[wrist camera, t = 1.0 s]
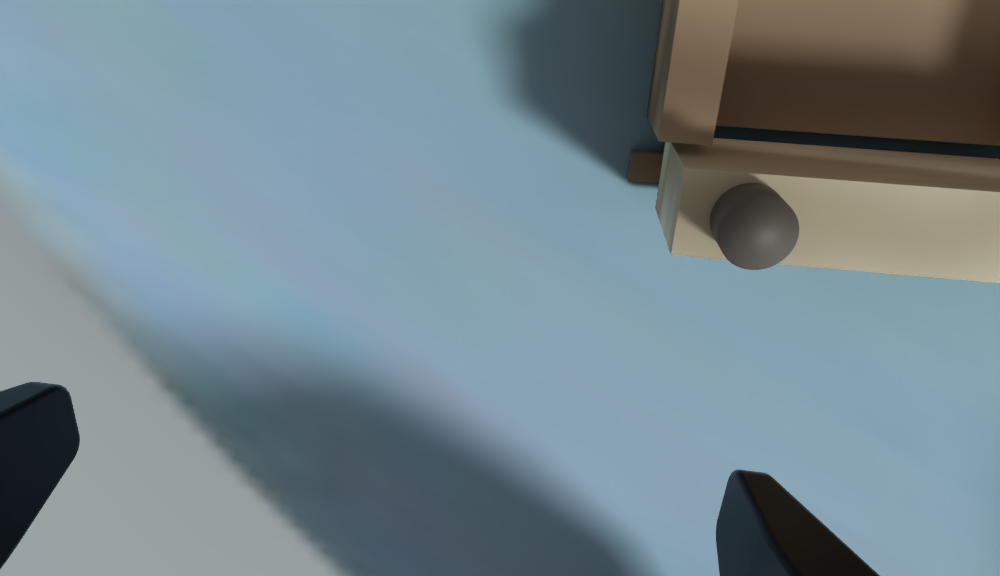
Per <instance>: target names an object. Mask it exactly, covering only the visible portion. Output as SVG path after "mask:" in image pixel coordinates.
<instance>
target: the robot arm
mask: <svg viewBox="0 0 1000 576" xmlns="http://www.w3.org/2000/svg"><path fill="white" fill-rule="evenodd" d="M79 442H80V437H79V432H78V427H77V423H76V419H75V414H74V409H73V405H72V401H71V396H70V394H69V392H68V391H67V390H66V388H65V387H63V386H61V385H55V384H47V383H40V382H29V383H25V384H22V385H19V386H16V387H13V388H10V389H7V390H4V391H1V392H0V569H1V568H2V566H3V565H4V564H5V562H6V561H7V559H8V558H9V557H10V555H11V554H12V552H13V551H14V549H15V548H16V546H17V545H18V543H19V542H20V541H21V539H22V538H23V536H24V534H25V533H26V531H27V529H28V528H29V527H30V525H31V524H32V522H33V521H34V519H35V518H36V516H37V515H38V513H39V511H40V510H41V508H42V507H43V505H44V504H45V502H46V500H47V499H48V498H49V496H50V495H51V493H52V491H53V490H54V488H55V487H56V485H57V484H58V482H59V481H60V479H61V478H62V476H63V475H64V473H65V472H66V470H67V468H68V467H69V465H70V464H71V462H72V461H73V459H74V458H75V456H76V453H77V451H78V448H79ZM716 544H717V553H718V563H719V572H720V576H880V575H878V574H877V573H876V572H875V571H874V570H873V569H872V568H871V567H870V566H869V565H868V564H866V563H865V562H864V561H863V560H862V559H861V558H860V557H859V556H858V555H857V554H856V553H854V552H853V551H852V550H851V549H850V548H849V547H848V546H847V545H846V544H845V543H844V542H842V541H841V540H840V539H839V538H838V537H837V536H836V535H835V534H834V533H833V532H831V531H830V530H829V529H828V528H827V527H826V526H825V525H824V524H823V523H822V522H821V521H819V520H818V519H817V518H816V517H815V516H814V515H813V514H812V513H811V512H810V511H809V510H807V509H806V508H805V507H804V506H803V505H802V504H801V503H800V502H799V501H798V500H797V499H795V498H794V497H793V496H792V495H791V494H790V493H789V492H788V491H787V490H786V489H785V488H783V487H782V486H781V485H780V484H779V483H778V482H777V481H776V480H775V479H774V478H772V477H771V476H770V475H768V474H766V473H762V472H754V471H746V470H735V471H733V472H732V473H731V475H730V477H729V479H728V482H727V486H726V490H725V494H724V497H723V501H722V505H721V509H720V512H719V516H718V520H717V526H716Z"/></svg>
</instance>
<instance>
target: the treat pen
mask: <svg viewBox="0 0 1000 576" xmlns="http://www.w3.org/2000/svg"><path fill="white" fill-rule="evenodd" d="M647 119H648V121H649V123H650V125H651V127H652V129H653V131H654V133H655V135H656V137H657V139H658V141H659V142H672V143H686V144H699V145H712V144H713V138H714V133H715V127H716V126H728V127H742V128H756V129H770V130H785V131H799V132H813V133H827V134H841V135H855V136H869V137H883V138H897V139H911V140H925V141H939V142H953V143H967V144H981V145H995V146H1000V0H663V4H662V11H661V18H660V26H659V33H658V40H657V47H656V54H655V61H654V69H653V76H652V83H651V90H650V97H649V104H648V112H647ZM663 154H664V152H654V151H640V150H631V153H630V161H629V169H628V176H627V180H628V181H631V182H644V183H657V184H659V180H660V174H661V167H662V161H663Z"/></svg>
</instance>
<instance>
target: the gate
mask: <svg viewBox="0 0 1000 576" xmlns="http://www.w3.org/2000/svg"><path fill="white" fill-rule="evenodd" d="M655 209H656V212H657V215H658V218H659V220H660V223H661V226H662V229H663V232H664V235H665V238H666V241H667V244H668V247H669V250H670V253H671V255H678V256H690V257H701V258H713V259H725V260H728V261H730V262H731V263H732V264H734V265H736V266H738V267H740V268H744V269H749V270H759V269H765V268H768V267H771V266H774V265H776V264H783V265H795V266H807V267H818V268H830V269H842V270H853V271H865V272H877V273H888V274H900V275H912V276H923V277H935V278H947V279H958V280H970V281H982V282H993V283H1000V159H996V158H983V157H969V156H955V155H941V154H928V153H914V152H900V151H886V150H873V149H859V148H845V147H831V146H818V145H804V144H790V143H776V142H763V141H749V140H735V139H721V138H713V144H712V145H699V144H686V143H672V142H665V148H664V154H663V161H662V167H661V174H660V180H659V187H658V193H657V200H656V207H655Z"/></svg>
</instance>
